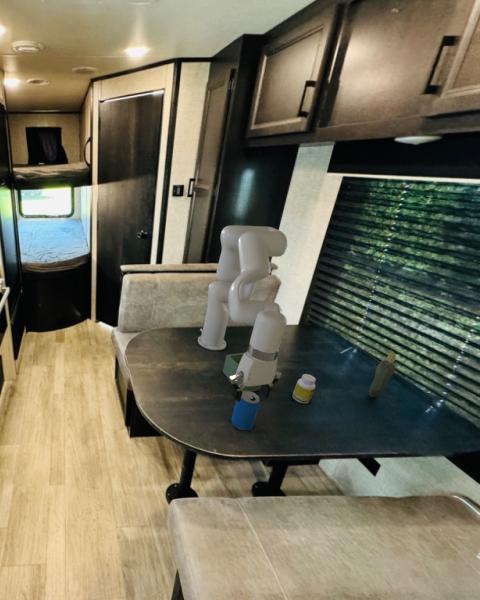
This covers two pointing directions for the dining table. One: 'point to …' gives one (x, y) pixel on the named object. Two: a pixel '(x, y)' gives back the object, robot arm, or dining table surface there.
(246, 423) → the beverage can
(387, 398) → the dining table surface
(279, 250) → the robot arm
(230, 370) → the bin
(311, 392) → the supplement bottle
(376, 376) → the olive brown bottle
